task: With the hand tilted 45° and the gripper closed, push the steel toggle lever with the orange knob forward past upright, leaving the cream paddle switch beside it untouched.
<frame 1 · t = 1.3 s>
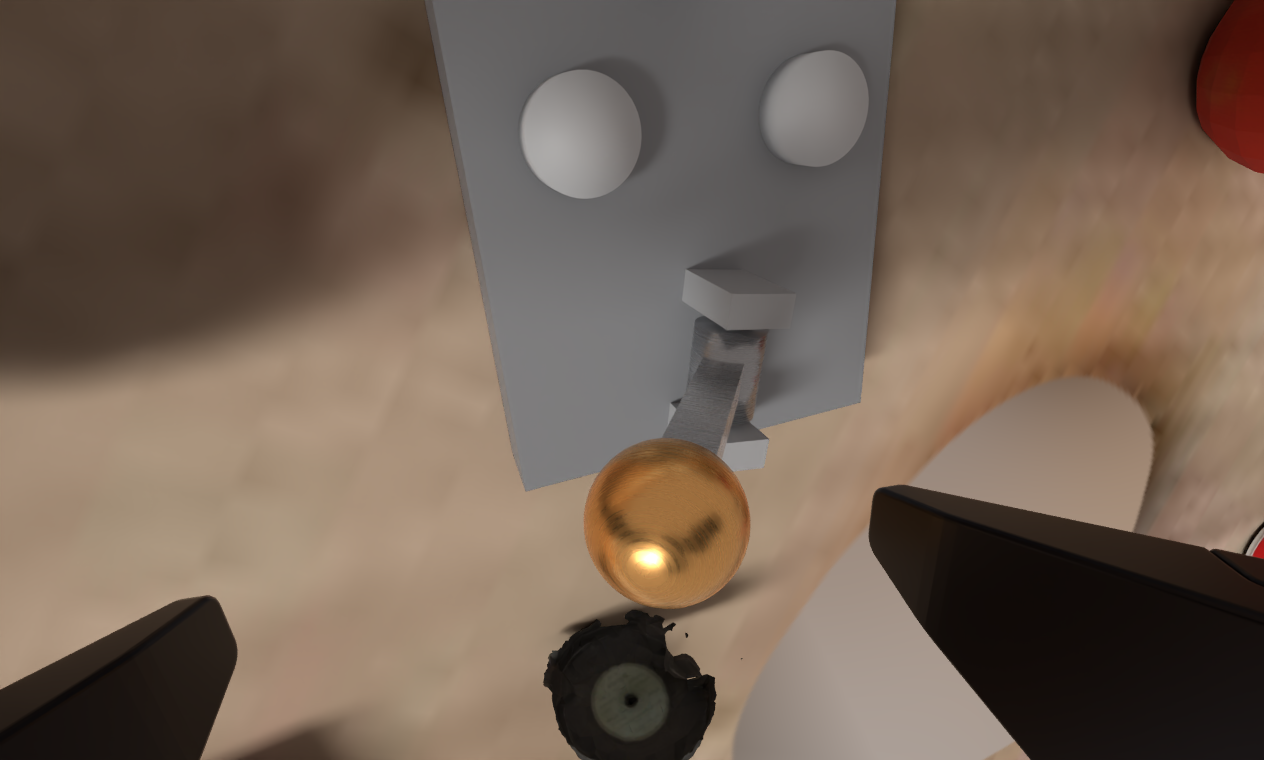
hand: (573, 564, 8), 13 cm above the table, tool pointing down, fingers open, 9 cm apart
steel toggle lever: (701, 428, 15), point 8 cm above the table, hinge at -34.9°
switch panel: (662, 121, 19), on the table
fruit: (1229, 61, 27), on the table
beverage can: (1263, 537, 47), on the table
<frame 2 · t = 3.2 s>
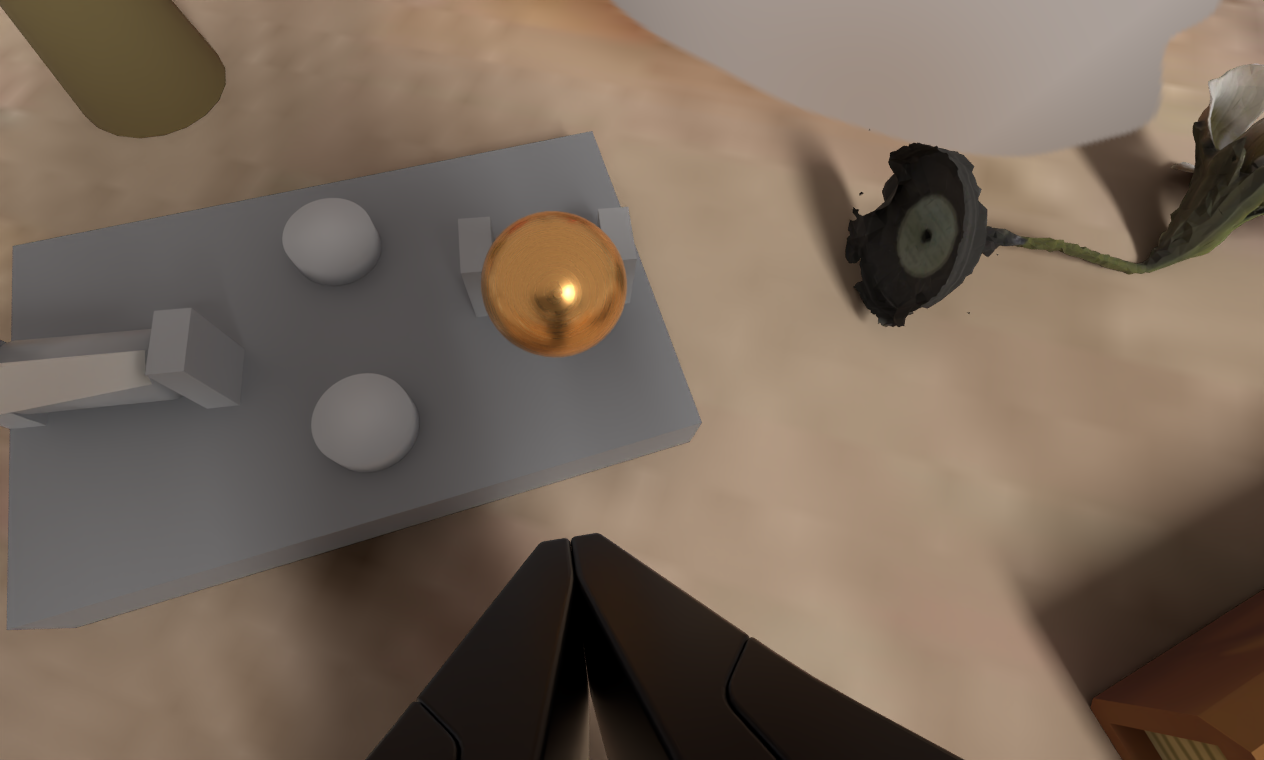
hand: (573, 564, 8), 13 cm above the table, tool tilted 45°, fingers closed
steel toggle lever: (551, 272, 17), point 8 cm above the table, hinge at -34.7°
switch panel: (377, 361, 23), on the table
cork: (156, 87, 27), on the table
artificial flower: (1068, 239, 28), on the table
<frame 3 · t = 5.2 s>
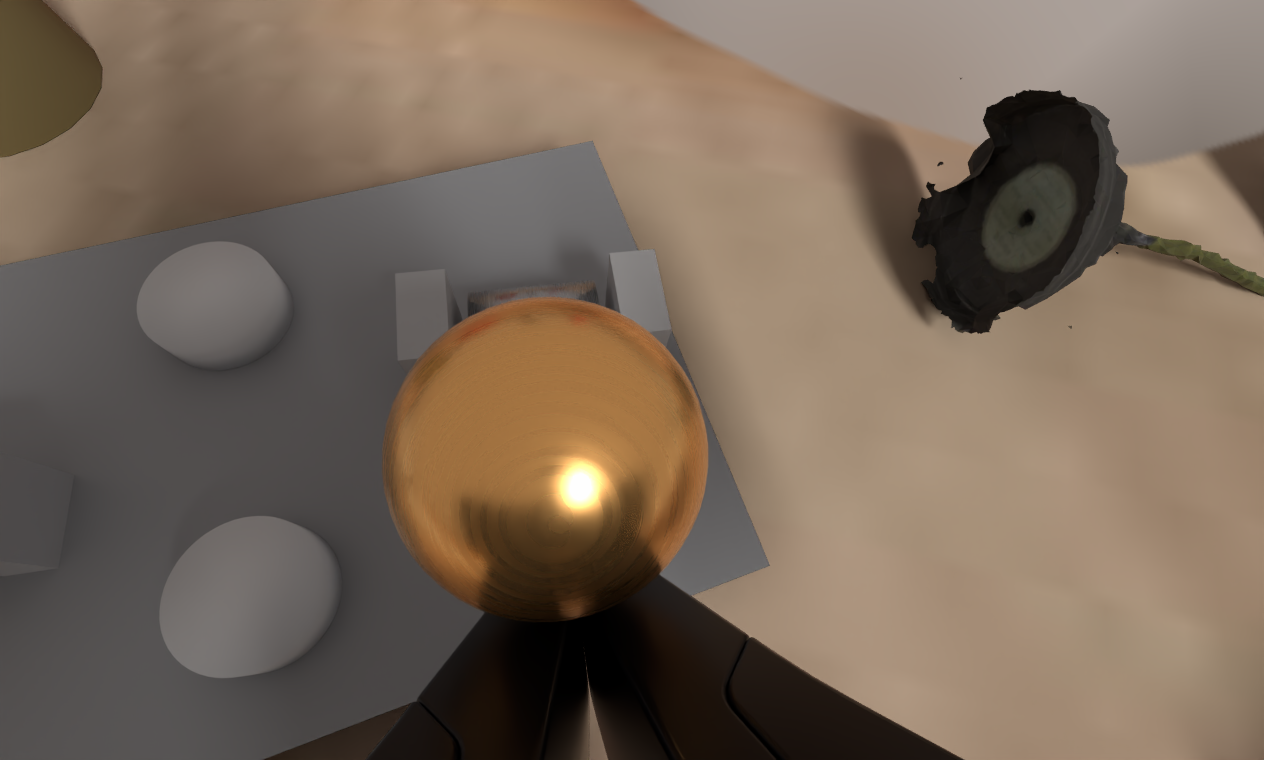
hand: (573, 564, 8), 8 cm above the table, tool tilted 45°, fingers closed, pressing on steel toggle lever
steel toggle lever: (541, 371, 10), point 8 cm above the table, hinge at -34.7°, touching gripper
switch panel: (293, 470, 16), on the table
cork: (7, 93, 20), on the table
artificial flower: (1195, 252, 23), on the table
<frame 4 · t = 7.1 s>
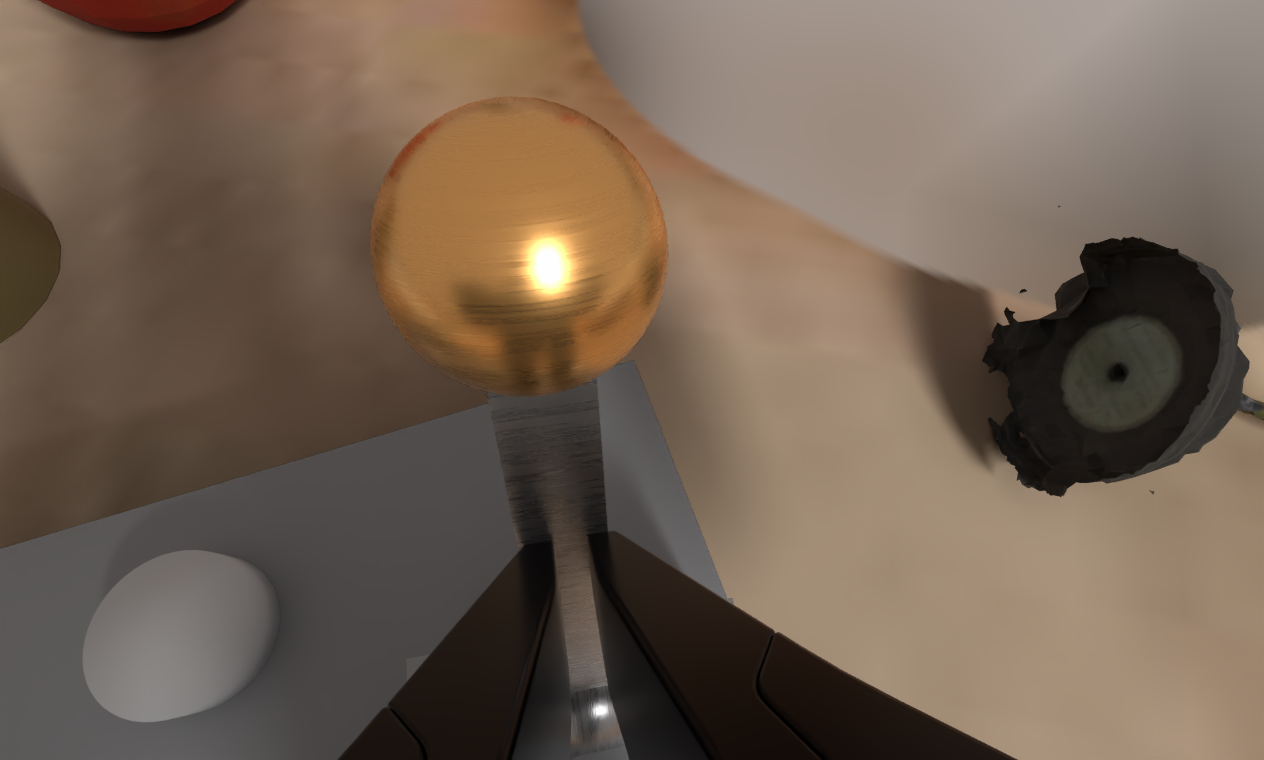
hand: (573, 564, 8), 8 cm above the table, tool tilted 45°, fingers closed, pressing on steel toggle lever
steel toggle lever: (560, 519, 9), point 8 cm above the table, hinge at 33.4°, touching gripper
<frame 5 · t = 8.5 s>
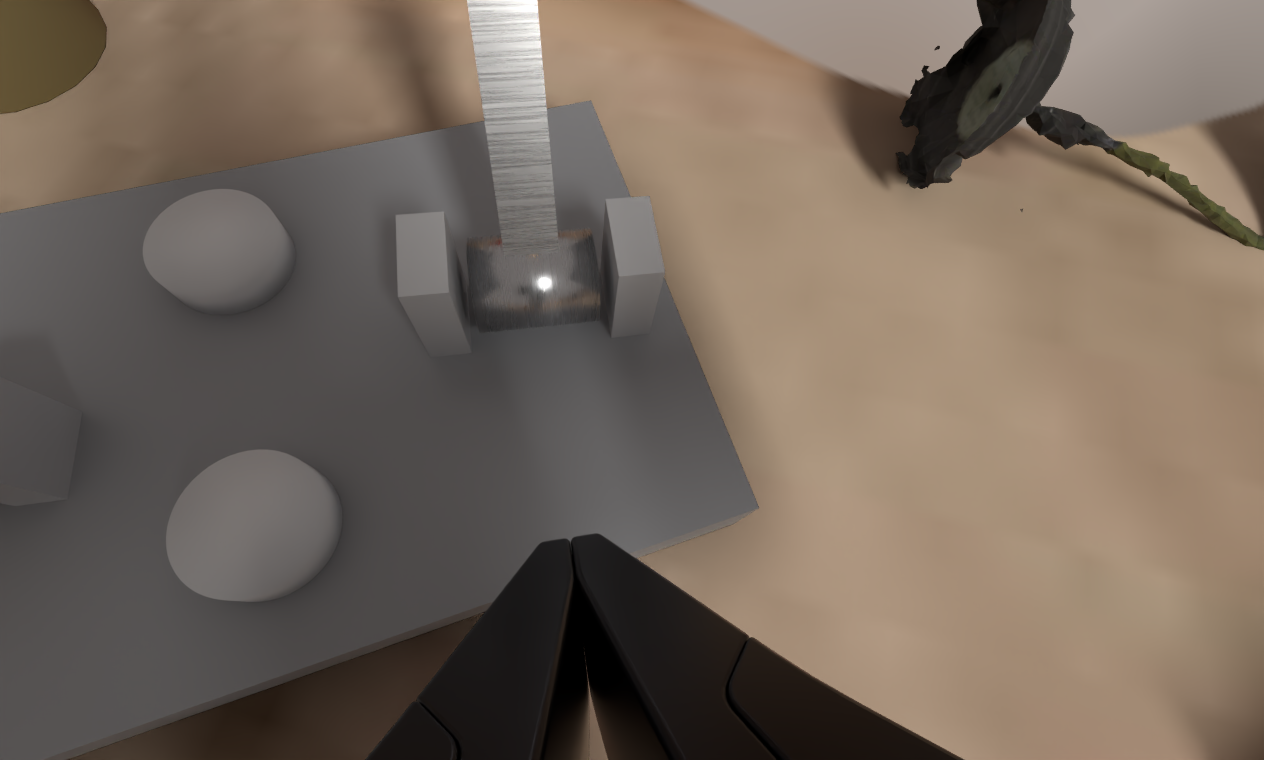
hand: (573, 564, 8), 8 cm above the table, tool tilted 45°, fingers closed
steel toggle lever: (510, 71, 12), point 8 cm above the table, hinge at 33.5°
switch panel: (295, 418, 17), on the table
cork: (12, 51, 21), on the table
artificial flower: (1179, 193, 23), on the table
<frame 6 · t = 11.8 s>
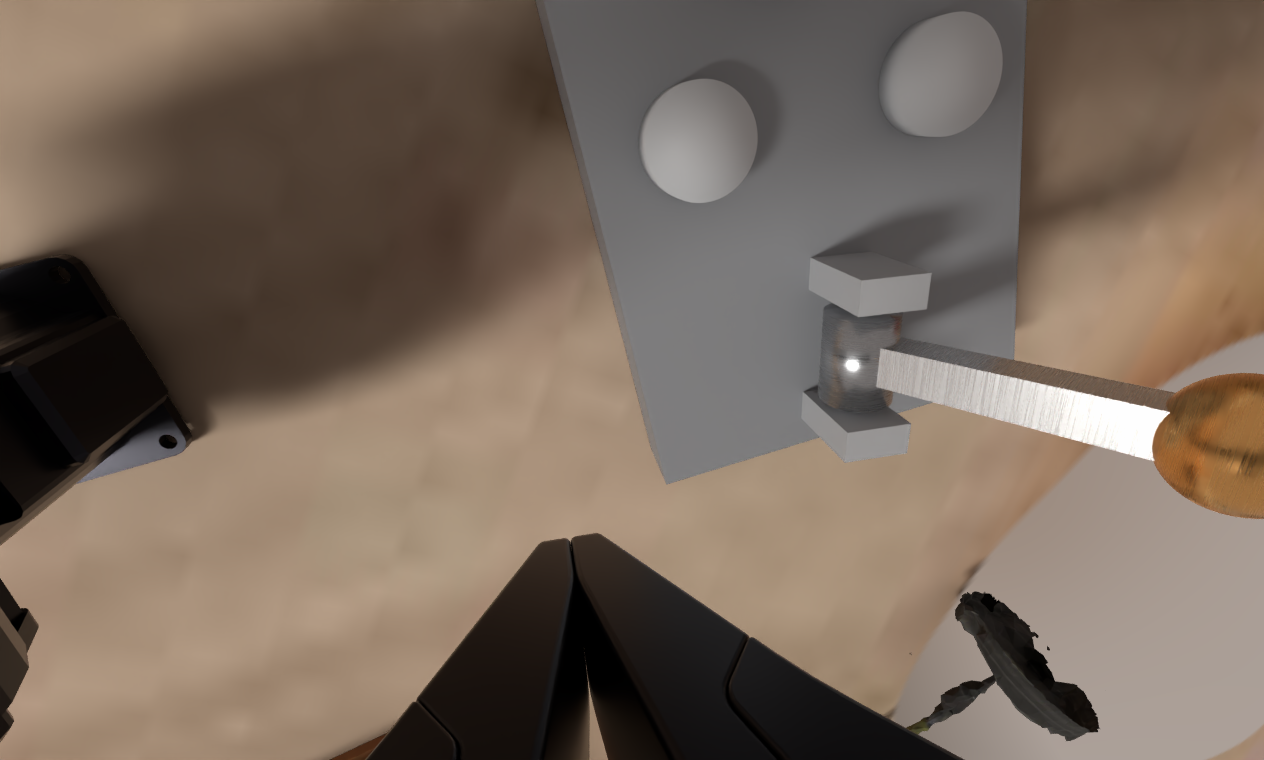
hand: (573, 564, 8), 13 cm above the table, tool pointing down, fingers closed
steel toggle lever: (1023, 393, 15), point 8 cm above the table, hinge at 33.5°
switch panel: (776, 111, 19), on the table
artificial flower: (861, 748, 33), on the table
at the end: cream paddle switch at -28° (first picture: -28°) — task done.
